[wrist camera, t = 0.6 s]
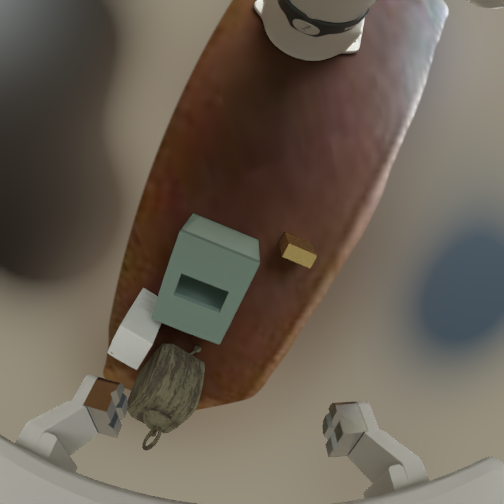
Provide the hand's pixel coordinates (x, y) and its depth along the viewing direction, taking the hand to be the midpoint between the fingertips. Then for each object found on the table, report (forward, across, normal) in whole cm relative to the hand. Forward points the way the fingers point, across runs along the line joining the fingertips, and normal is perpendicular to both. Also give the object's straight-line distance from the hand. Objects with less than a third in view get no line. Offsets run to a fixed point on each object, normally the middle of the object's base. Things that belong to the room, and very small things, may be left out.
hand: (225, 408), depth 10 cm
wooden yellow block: (+41, -9, +7) cm, 42 cm away
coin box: (+41, +5, +13) cm, 43 cm away
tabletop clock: (+41, +12, +35) cm, 55 cm away
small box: (+41, +17, +24) cm, 50 cm away
